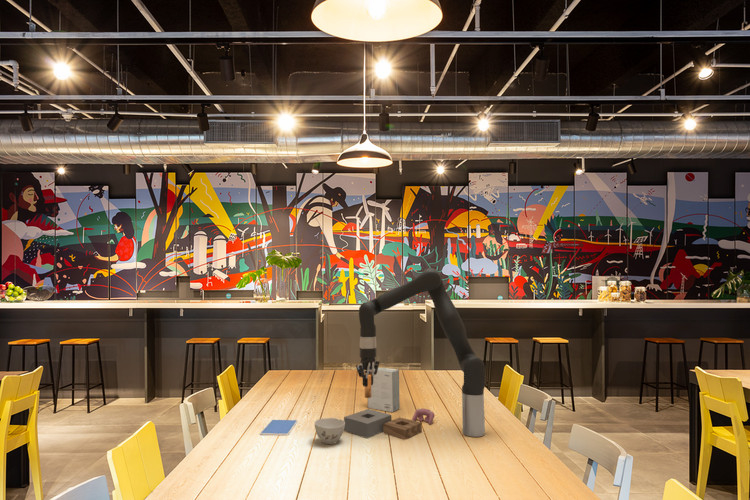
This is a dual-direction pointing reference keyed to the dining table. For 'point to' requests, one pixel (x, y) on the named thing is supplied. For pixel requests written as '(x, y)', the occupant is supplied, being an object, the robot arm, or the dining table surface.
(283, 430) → the blue book
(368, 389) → the pin
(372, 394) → the hard drive box
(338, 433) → the teacup
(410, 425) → the pin mount
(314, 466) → the dining table surface
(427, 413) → the video game controller
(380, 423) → the dock socket
